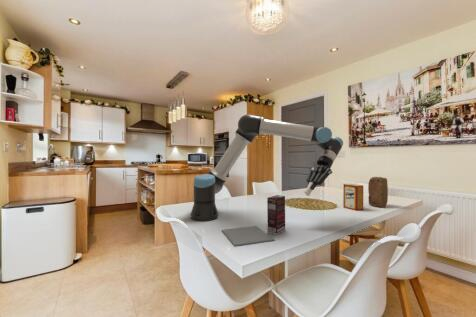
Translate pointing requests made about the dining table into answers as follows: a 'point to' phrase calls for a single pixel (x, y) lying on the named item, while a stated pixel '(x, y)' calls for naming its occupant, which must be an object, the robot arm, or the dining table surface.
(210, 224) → the dining table surface
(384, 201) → the block
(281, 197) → the supplement box
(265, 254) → the dining table surface
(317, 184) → the robot arm
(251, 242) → the mat
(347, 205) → the baking soda box
